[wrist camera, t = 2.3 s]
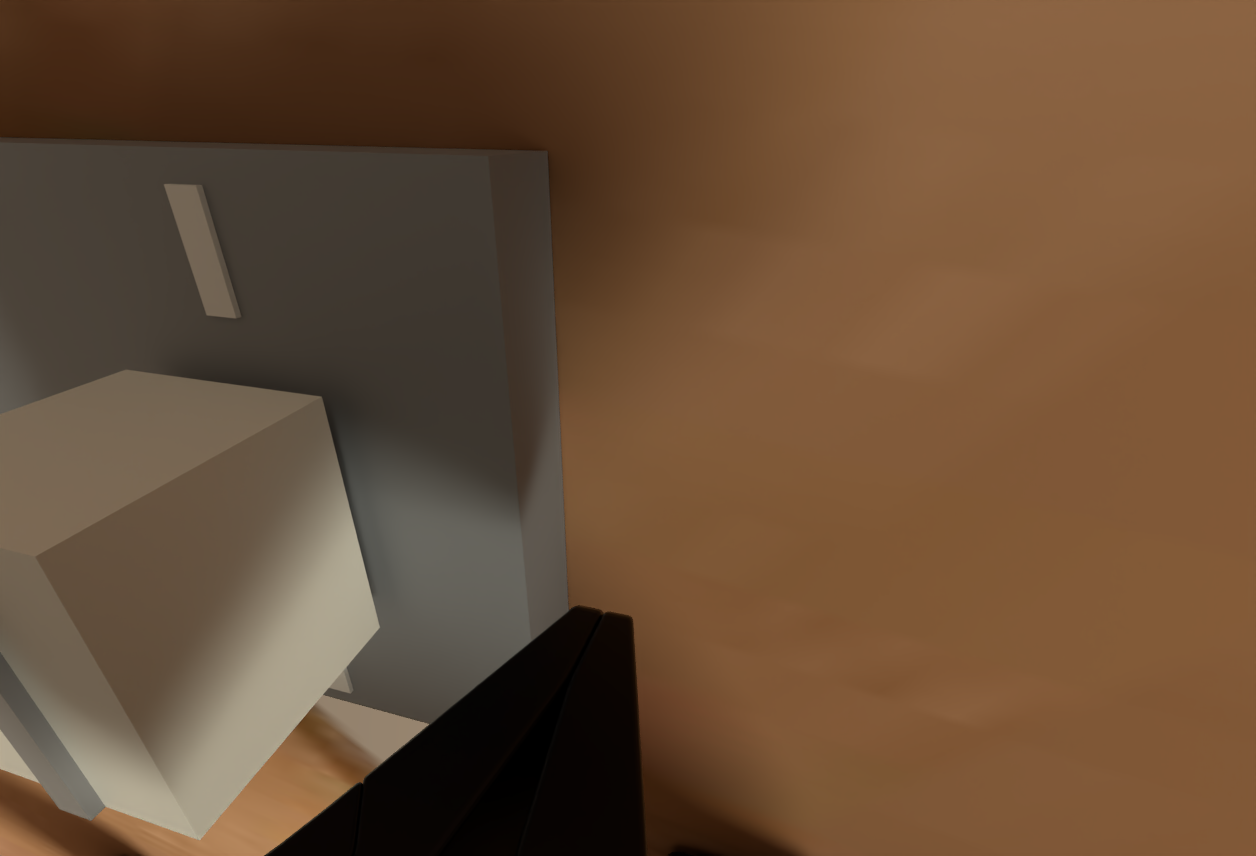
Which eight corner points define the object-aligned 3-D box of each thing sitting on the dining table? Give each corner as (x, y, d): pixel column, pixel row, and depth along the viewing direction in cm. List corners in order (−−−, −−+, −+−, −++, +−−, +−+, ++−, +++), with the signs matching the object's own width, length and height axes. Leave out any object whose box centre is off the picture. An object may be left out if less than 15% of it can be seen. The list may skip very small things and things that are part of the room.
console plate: (571, 680, 15) (539, 758, 13) (-130, 513, 20) (-221, 549, 19) (547, 151, 9) (484, 155, 7) (-406, 126, 15) (-574, 126, 13)
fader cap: (379, 627, 11) (186, 855, 8) (216, 588, 12) (-25, 777, 9) (321, 397, 9) (12, 569, 6) (125, 369, 10) (-251, 503, 6)
